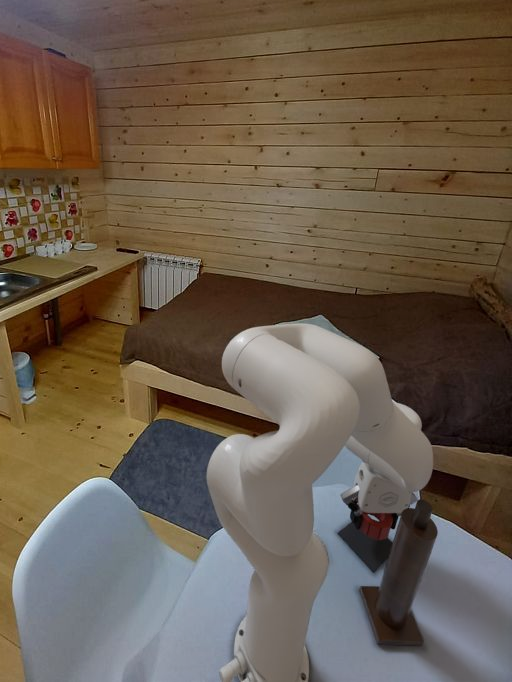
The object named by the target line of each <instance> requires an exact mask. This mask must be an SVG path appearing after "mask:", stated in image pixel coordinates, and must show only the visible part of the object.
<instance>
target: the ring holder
mask: <svg viewBox="0 0 512 682" xmlns="http://www.w3.org/2000/svg"><path fill="white" fill-rule="evenodd" d="M415 503H416V504H415V505H414V507H409V508H407V509H404V510H403V511H402V513H401V516H399V519H398V522H397V523H398V524H397V526H396V531H395V534H394V538H393V540H392V542H393V544H392V547H391V550H390V554H389V557H388V559H387V560H386V564H385V566H384V570H383V574H382V577H381V581H380V584H379V586H378V585H377V586H376V585H375V586H374V585H370V586H369V585H359V589H358V592H359V595H360V598H361V601H362V604H363V607H364V609H365V613H366V616H367V619H368V622H369V624H370V627H371V630H372V633H373V636H374V639H375V642H376V645H385V646H386V645H387V646H391V645H392V646H423V645H424V641H425V640H424V637H423V636H422V633H421V631H420V629H419V627H418V624H417V621H416V619H415V617H414V615H413V613H412V607H413V604H414V602H415V600H416V597H417V593H418V590H419V588H420V585H421V582H422V579H423V576H424V575H425V571H426V568H427V565H428V562H429V560H430V557H431V554H432V551H433V549H434V545H435V543H436V541H437V537H438V533H439V532H438V527H437V525H436V523H435V521H434V520H433V519H432V518H431V517H432V515H433V514H432V513H433V511H434V508H433V506H432V504H431V503H430V502H429V501H427V500H425V499H422V498H421V499H420V498H418V500H417V501H416V502H415Z"/></svg>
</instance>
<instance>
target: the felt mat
mask: <svg viewBox="0 0 512 682" xmlns="http://www.w3.org/2000/svg"><path fill="white" fill-rule="evenodd" d="M337 536H339V537H340V539H342V540H343V541H344V542H345V544H346V545H347V546H348V547H349V548H350V549H351V550H352V551H353V553H355V555H356V556H357V557H358V558H359V559H360V560H361V561H362V562H363V564H365V566H366V567H367V568H368V569H369V571H371V572H372V573H374V572H375V571H376V570H378V569H379V568H380V567H381V566H382V565H383V564H384V563H385V562H387V560H388V557H389V554H390V550H391V547H392V544H393V540H391V539H390V538H389V536H388V537H387V538H386V539H382V540H376V539H373V538H370V537H368V534H367V535H365V534H364V533H363V532H362V531H361V530H360V529H359V530H357V529H356V527H355V525H354V523H352V521H350V523H348V524H347V525H346V526H344V527H343V528H341V529H340V530H339V531H338V532H337Z"/></svg>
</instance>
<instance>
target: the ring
mask: <svg viewBox="0 0 512 682" xmlns="http://www.w3.org/2000/svg"><path fill="white" fill-rule="evenodd" d="M358 506H359V505H358ZM371 516H372V517H374V518H376V519H373V518H372V517H371ZM362 517H363V519H362V523H361V527H360V530H361V531H362V532H363V533H364V534H365V535H367V534H368V537H370V538H373V539H376V540H382V539H386V538H387V537H388V538H389V535H390V532H391V530H392V529H391V525H392V522H393V517H392V514H391V513H367V512H363V513H362Z"/></svg>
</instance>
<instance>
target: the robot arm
mask: <svg viewBox="0 0 512 682" xmlns="http://www.w3.org/2000/svg"><path fill="white" fill-rule="evenodd" d="M221 370H222V374H223V376H224V379H225V380H226V382H227V383H228V384H229V386H230V387H231V388H232V389H234V390H235V391H236V392H237V393H238V394H240V395H241V396H242V397H243V398H245V400H247V401H249V402H250V403H251V404H252V405H253V406H255V407H256V408H257V409H259V410H260V411H261V412H262V413H264V414H265V415H266V416H267V417H268V418H269V419H271V420H272V421H273V422H274V423H276V424H277V425H278V427H279V429H278V430H273V431H269V432H265V433H263V434H259V435H257V436H256V437H252V436H250V435H248V434H245V433H236V434H232V435H230V436H228V437H226V438H225V439H223V440H222V441H221V442H219V444H218V445H217V446H216V448H215V449H214V451H213V452H212V454H211V456H210V459H209V460H208V461H209V462H208V465H207V468H206V485H207V488H208V491H209V495H210V498H211V502H212V504H213V508H214V511H215V513H216V517H217V519H218V521H219V523H220V525H221V526H222V528H223V530H224V531H225V532H226V534H227V535H228V536H229V538H231V540H232V541H233V542H234V544H235V545H236V546H237V548H238V549H239V550H240V551H241V553H242V554H243V555H244V557H245V558H246V560H247V562H248V563H249V564H250V565H251V567H252V569H254V570H253V572H252V574H251V577H250V579H249V585H248V596H247V606H246V615H245V616H244V618H243V619H242V620H241V622H240V624H239V626H238V627H237V630H236V632H235V633H236V634H235V638H234V643H233V659H232V660H231V661H230V662H227V663H226V664H225V665H224V666H223V667H221V668H220V669H219V670H218V674H219V675H218V676H219V678H220V680H221V682H232V681H234V680H235V678H236V677H237V678H238V681H239V682H309V679H310V677H309V675H310V661H309V660H310V659H309V653H308V650H307V646H306V639H307V635H308V630H309V625H310V619H311V614H312V610H313V606H314V603H315V600H316V598H317V597H318V594H319V592H320V590H321V589H322V587H323V584H324V583H325V580H326V579H327V575H328V571H329V564H330V562H329V555H328V554H329V553H328V551H327V548H326V547H325V545H324V543H323V541H322V540H321V539H320V536H319V535H317V533H316V532H315V531H314V525H315V509H314V494H313V492H314V491H313V490H314V489H313V485H314V483H316V481H318V480H319V478H321V476H322V475H323V474H324V473H325V472H326V471H327V470H328V468H329V467H331V465H332V463H333V462H334V461H335V460H336V459H337V457H338V456H339V454H340V453H341V452H342V450H343V448H344V447H345V448H346V449H347V450H348V451H349V452H350V453H351V454H353V455H354V456H356V457H357V458H359V459H360V460H361V461H362V462H361V464H360V465H359V468H358V470H357V473H356V476H355V478H354V482H353V487H351V488H348V489H347V490H345V491H343V492H342V493H340V495H339V496H340V498H341V501H342V502H343V503H344V504H345V505H346V506H347V507H348V509H349V510H350V513H349V518H350V522H352V523H354V525H355V527H356V529H357V530H359V529H360V527H361V523H362V519H363V517H362V513H363V512H367V513H391V514H392V517H393V522H392V525H391V529H390V530H395V529H396V528H397V525H398V524H397V523H398V522H399V518H400V517H401V513H402V511H403V510H404V509H407V508H411V506H412V505H413V504H415V503H417V501H418V500H419V498H418V497H417V495H416V494H415V493H417V492H420V491H422V489H424V488H425V487H426V486H427V485H428V483H429V481H430V479H431V478H432V473H433V469H434V452H433V447H432V446H433V445H432V443H431V442H430V440H429V439H428V437H427V436H426V434H425V433H424V432H423V431H422V427H423V426H422V423H423V422H422V419H421V417H420V416H419V415H418V413H417V412H416V411H415V410H413V409H412V408H411V407H409V406H408V405H405V404H402V403H399V402H393V399H392V395H391V391H390V387H389V383H388V380H387V375H386V371H385V369H384V366H383V364H382V362H381V361H380V359H379V358H378V356H377V355H376V354H374V353H373V352H372V351H371V350H370V349H368V348H366V347H364V345H361V344H359V343H357V342H355V341H352V340H350V339H348V338H345V337H343V336H342V335H339V334H337V333H335V332H332V331H330V330H328V329H326V328H323V327H321V326H319V325H317V324H311V323H298V322H297V323H285V324H283V323H282V324H273V325H272V324H271V325H263V326H255V327H251V328H247V329H245V330H243V331H241V332H239V333H237V334H236V335H235V336H234V337H233V338H232V339H231V340H230V341H229V343H228V344H227V345H226V347H225V349H224V351H223V354H222V357H221ZM358 505H359V506H358Z"/></svg>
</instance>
